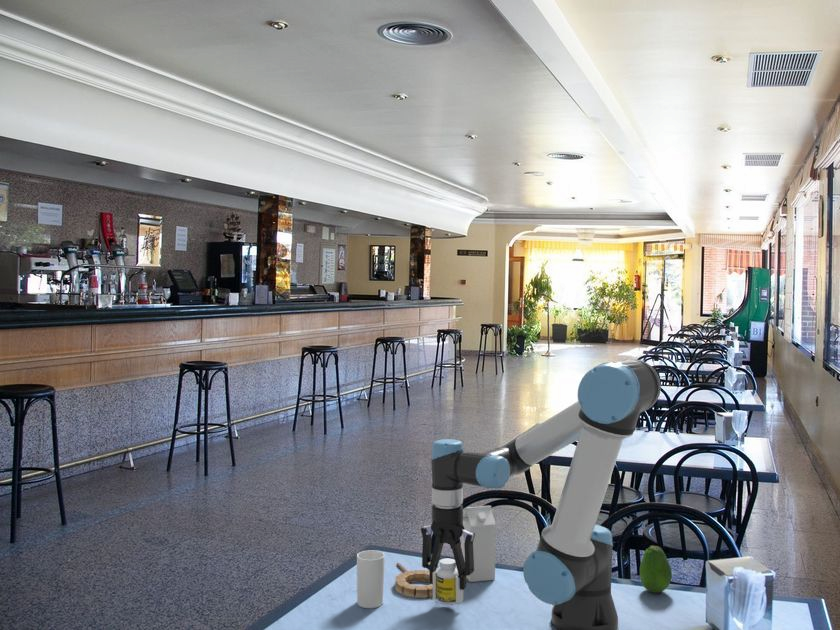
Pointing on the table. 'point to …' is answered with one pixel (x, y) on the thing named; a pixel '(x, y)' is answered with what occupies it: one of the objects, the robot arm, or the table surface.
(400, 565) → the brown wooden stick
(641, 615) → the table surface
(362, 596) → the mug
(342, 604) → the table surface
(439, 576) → the supplement bottle
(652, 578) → the fruit
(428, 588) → the bead ring
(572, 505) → the robot arm
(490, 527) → the milk carton
